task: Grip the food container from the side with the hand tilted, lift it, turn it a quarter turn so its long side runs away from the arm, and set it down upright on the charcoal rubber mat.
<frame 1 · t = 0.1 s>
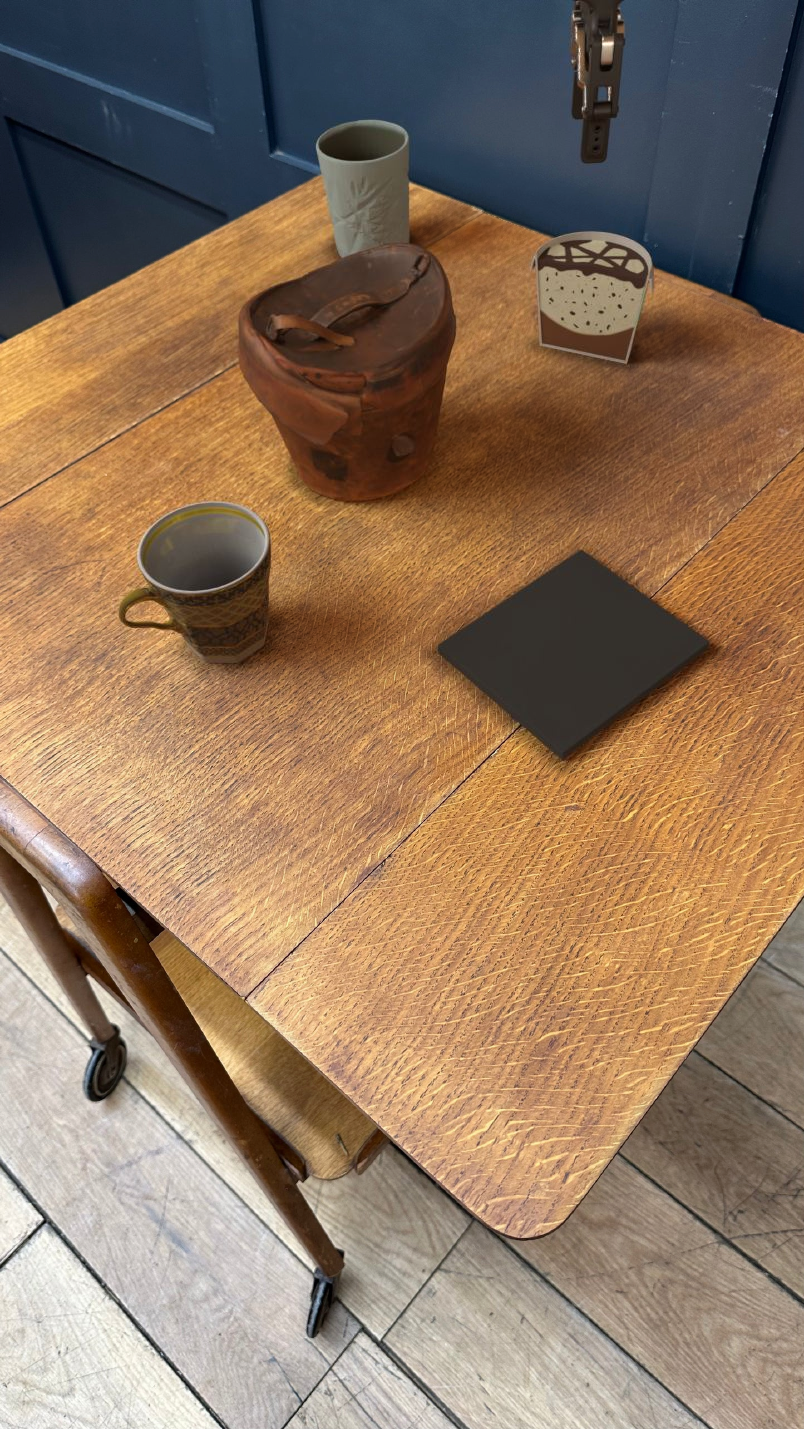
hand: (588, 138, 91), 20 cm above the table, tool pointing down, fingers open, 8 cm apart
case: (360, 463, 97), on the table
mat: (571, 651, 82), on the table
ceramic cup: (214, 645, 84), on the table
embossed grey tumbler: (371, 248, 121), on the table
food container: (592, 340, 107), on the table
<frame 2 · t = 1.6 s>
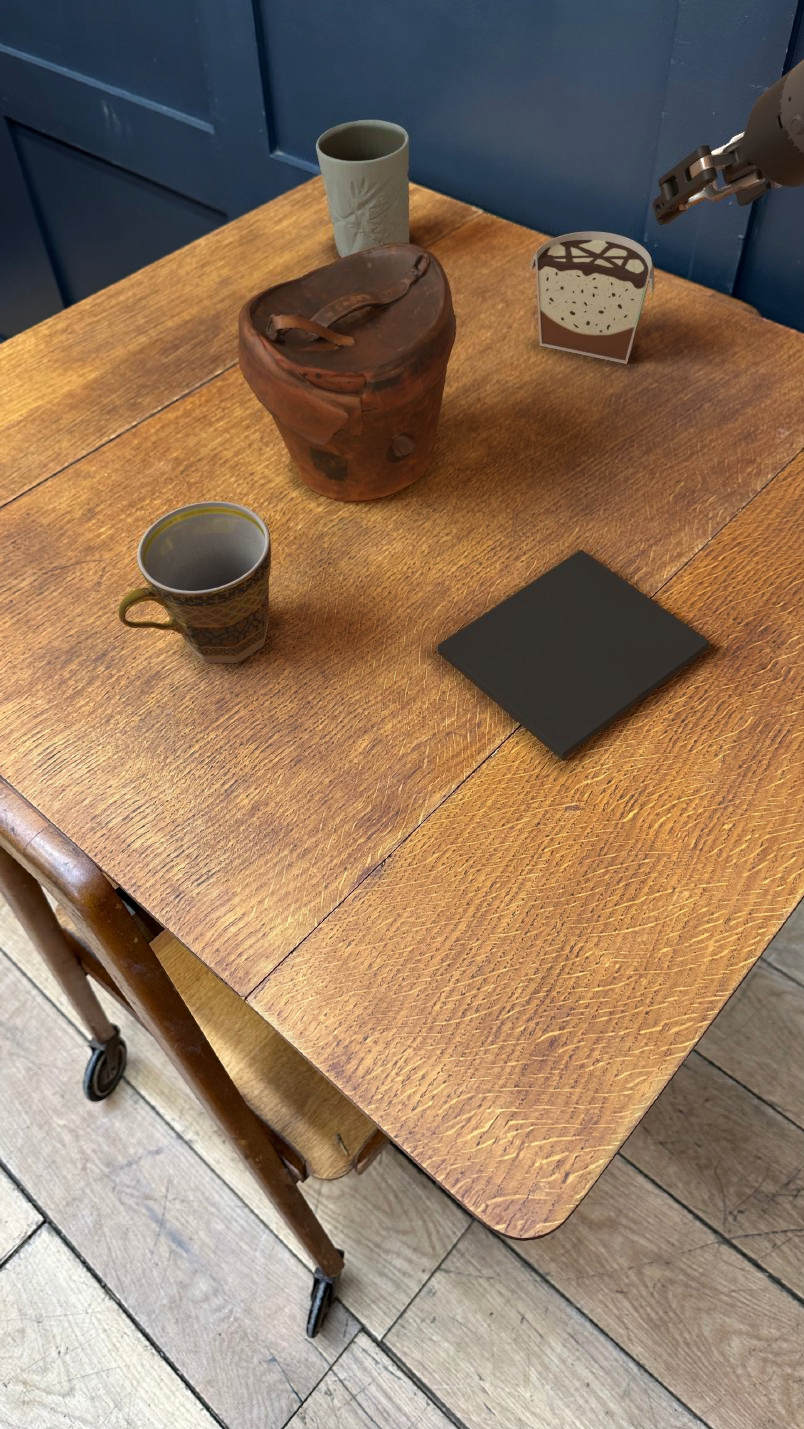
hand: (699, 204, 90), 16 cm above the table, tool tilted 45°, fingers open, 8 cm apart
nothing on the table moved.
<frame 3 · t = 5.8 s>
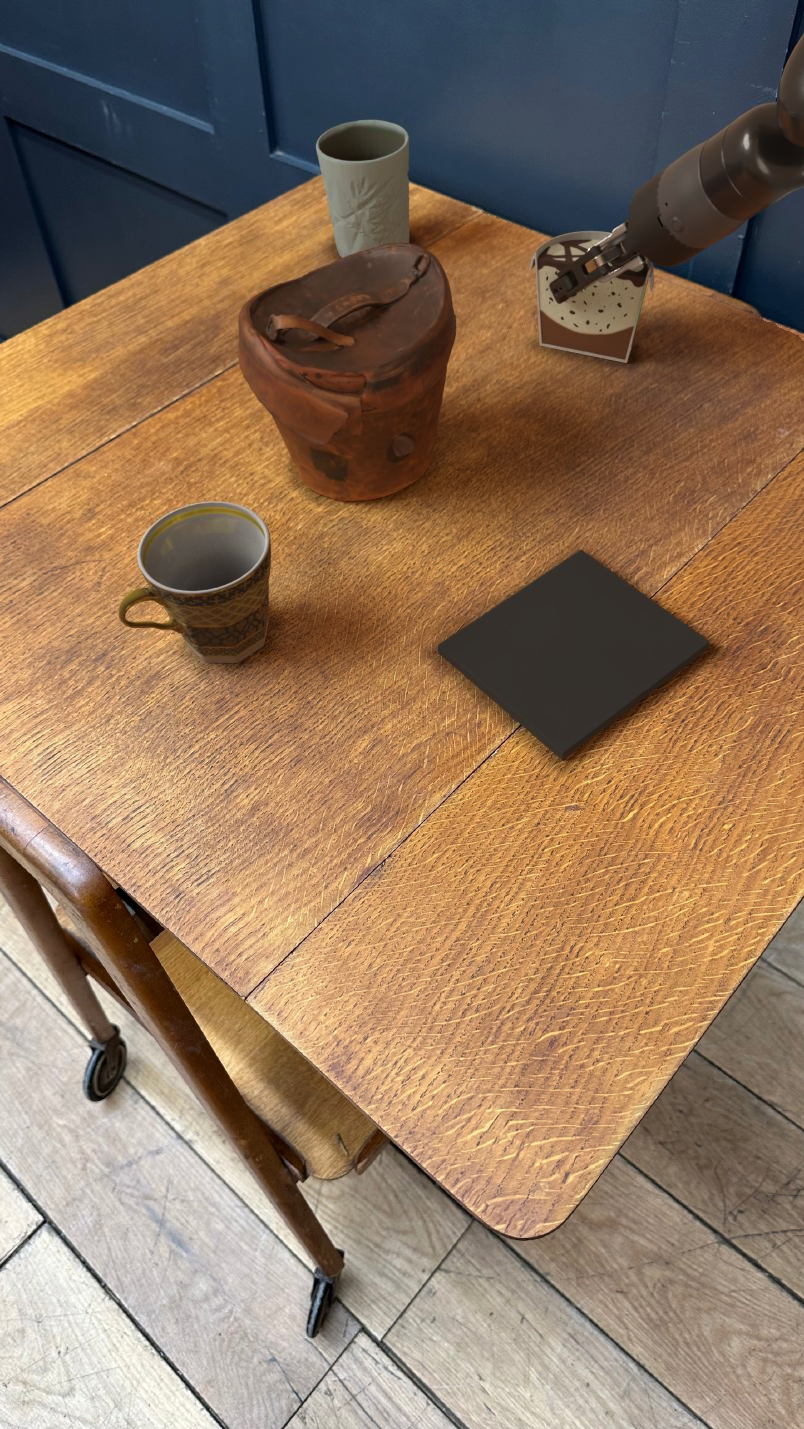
hand: (584, 277, 103), 6 cm above the table, tool tilted 45°, fingers closed on food container, 7 cm apart
food container: (591, 339, 107), on the table, touching gripper
everything else where it was.
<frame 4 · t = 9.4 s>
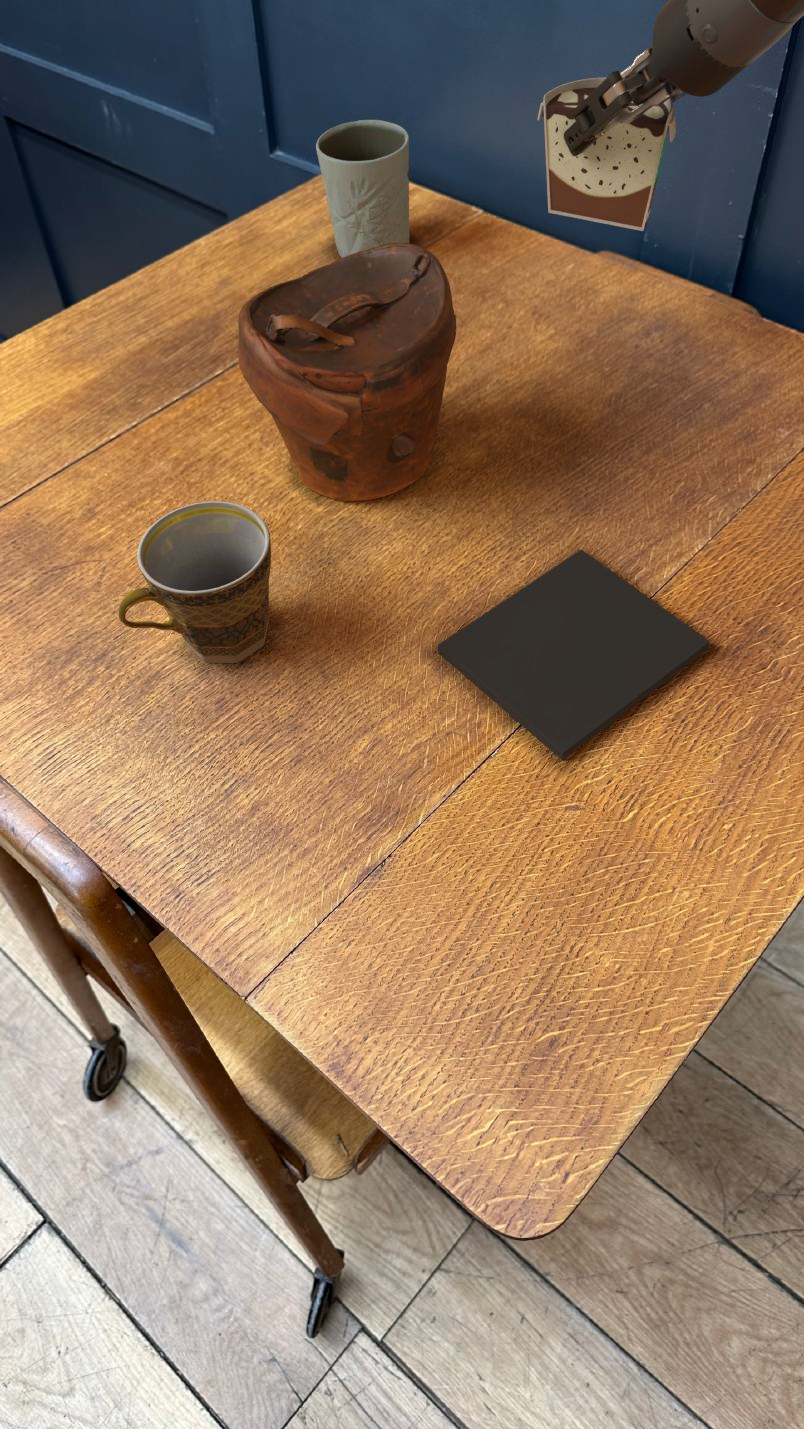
hand: (602, 130, 92), 20 cm above the table, tool tilted 45°, fingers closed on food container, 7 cm apart
food container: (607, 208, 97), point 13 cm above the table, touching gripper
everything else where it was.
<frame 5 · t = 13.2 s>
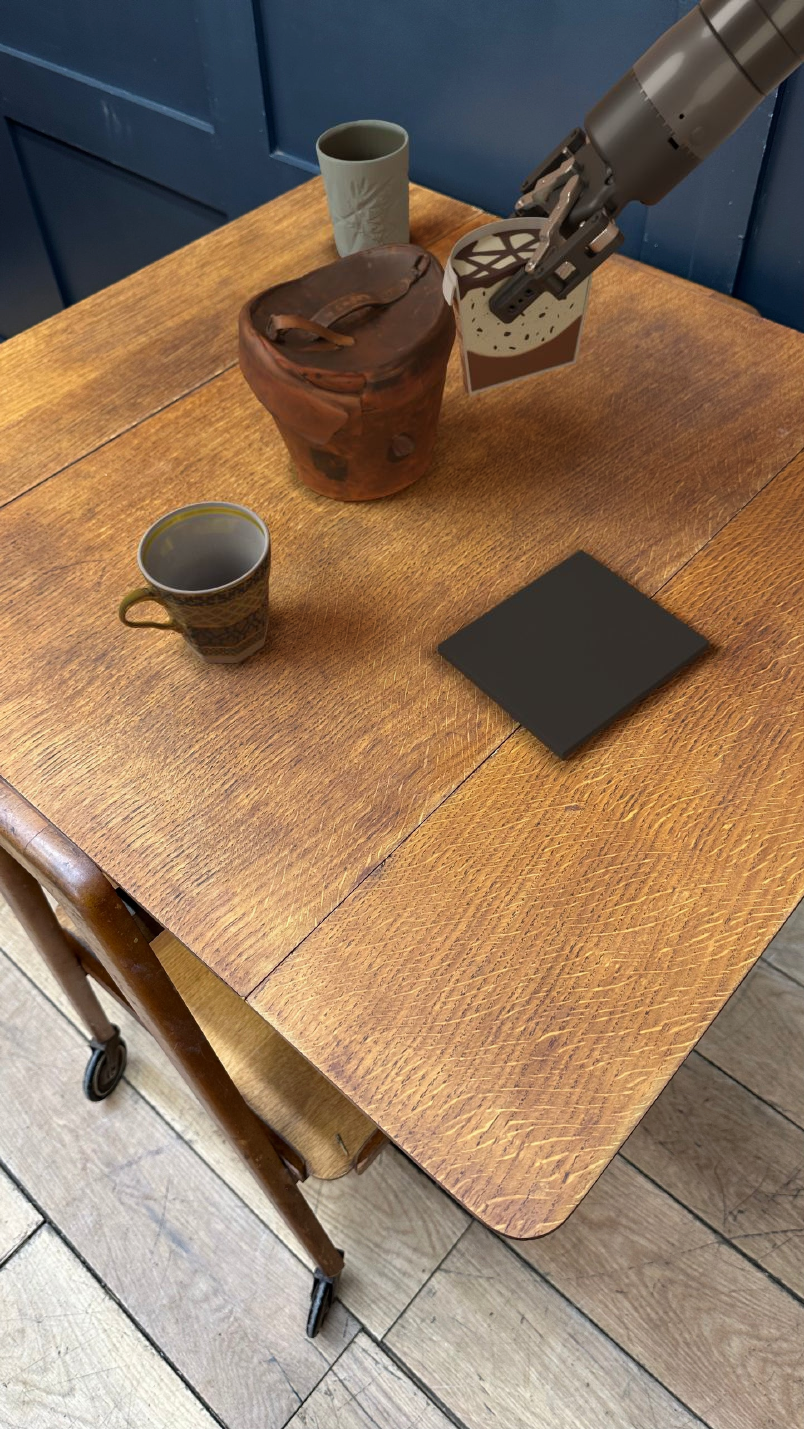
hand: (493, 285, 77), 20 cm above the table, tool tilted 45°, fingers closed on food container, 7 cm apart
food container: (505, 361, 83), point 14 cm above the table, touching gripper
everything else where it was.
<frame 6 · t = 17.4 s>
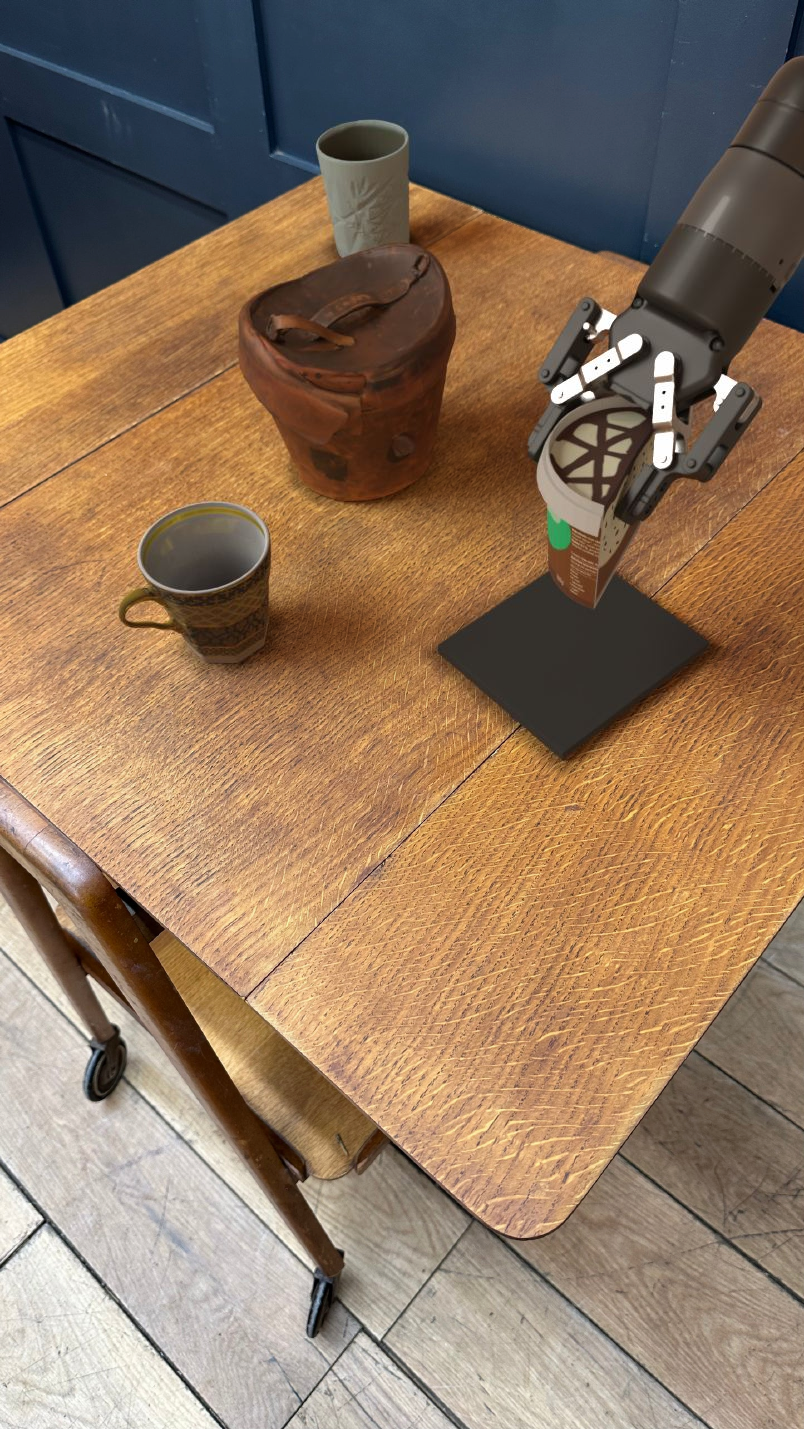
hand: (578, 490, 67), 17 cm above the table, tool tilted 45°, fingers closed on food container, 7 cm apart
food container: (577, 553, 73), point 11 cm above the table, touching gripper
everything else where it was.
when the fingers open (8 cm above the table, at t = 20.7 s): food container stays where it is, resting on mat.
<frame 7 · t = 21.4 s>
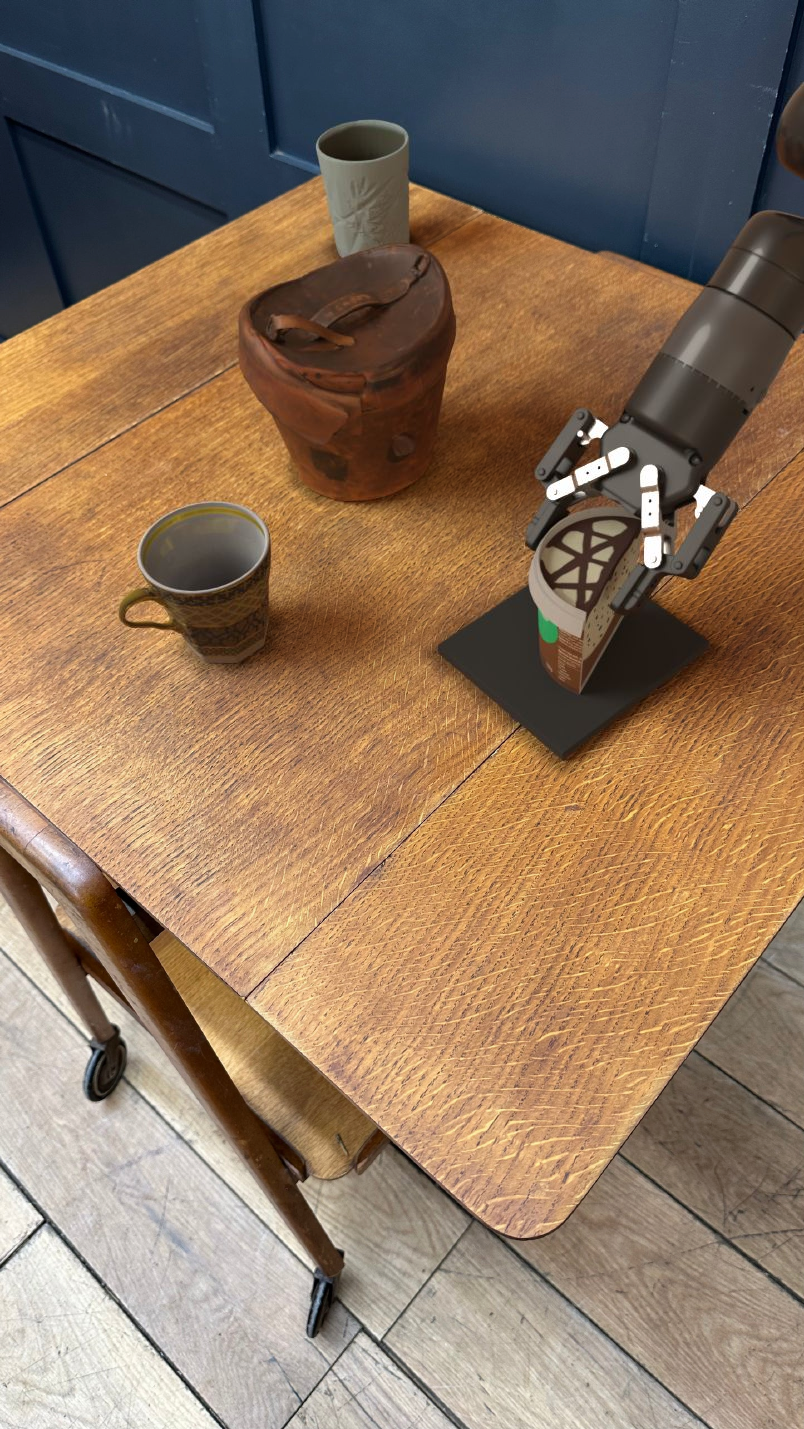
hand: (574, 580, 74), 9 cm above the table, tool tilted 45°, fingers open, 8 cm apart
food container: (566, 641, 81), point 1 cm above the table, touching mat
everything else where it was.
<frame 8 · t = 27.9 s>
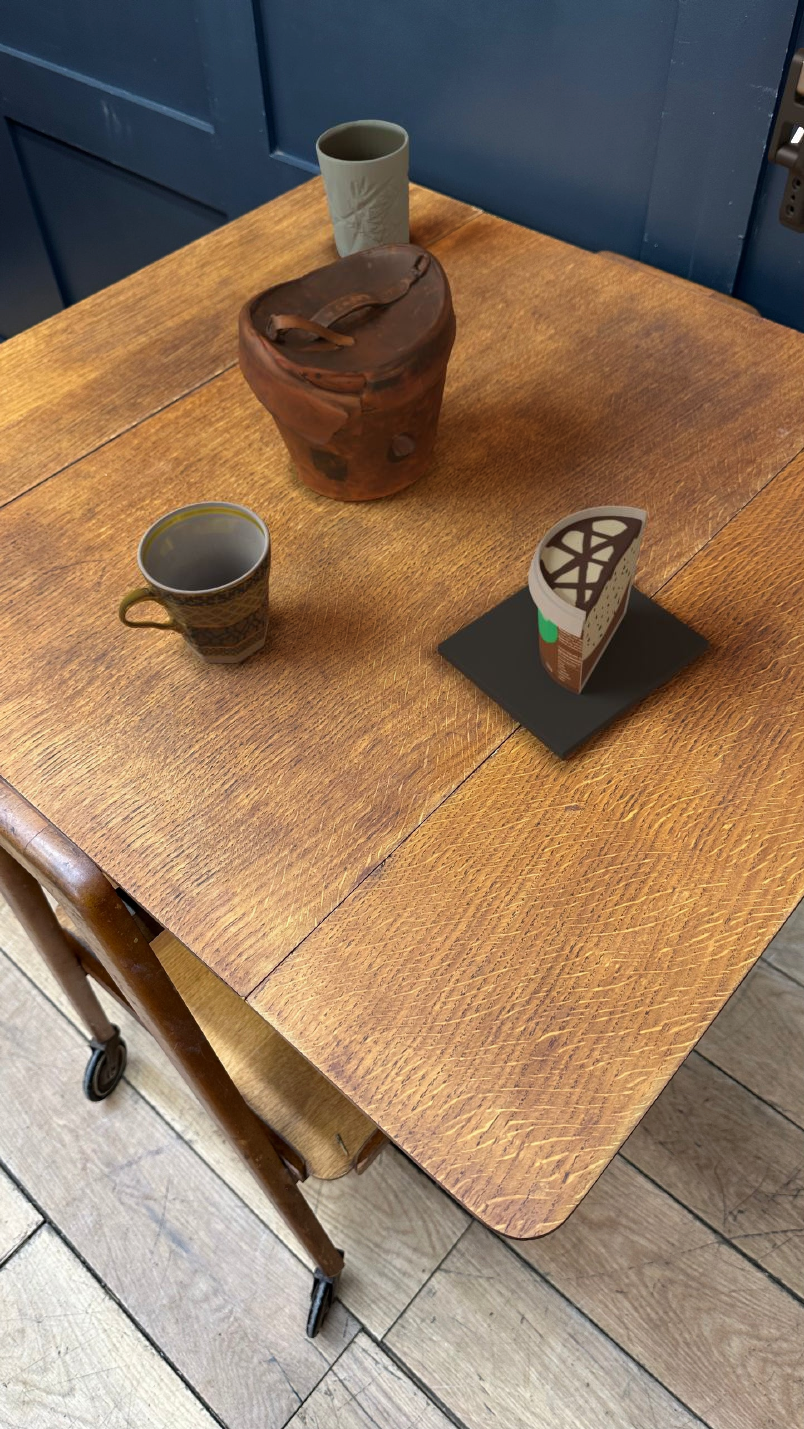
nothing on the table moved.
at the end: food container inside the target area on the mat (0.6 cm from its centre), point 0.8 cm above the mat's base; food container tilted 0°; food container moved 42.9 cm from its start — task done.
